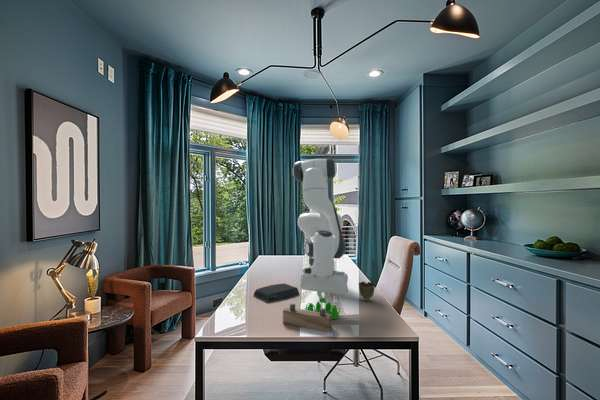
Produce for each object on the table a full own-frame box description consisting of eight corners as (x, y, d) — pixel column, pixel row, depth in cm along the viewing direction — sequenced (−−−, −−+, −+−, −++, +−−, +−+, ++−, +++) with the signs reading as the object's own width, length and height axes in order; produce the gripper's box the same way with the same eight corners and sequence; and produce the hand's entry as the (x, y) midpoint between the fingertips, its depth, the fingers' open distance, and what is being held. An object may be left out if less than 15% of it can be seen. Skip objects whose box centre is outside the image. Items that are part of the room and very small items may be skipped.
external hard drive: (252, 296, 150) (252, 288, 150) (284, 289, 162) (284, 281, 162) (267, 304, 140) (267, 295, 140) (300, 295, 152) (300, 287, 152)
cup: (375, 298, 147) (375, 281, 147) (374, 303, 140) (374, 286, 140) (359, 297, 149) (359, 280, 149) (357, 302, 142) (357, 284, 142)
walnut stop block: (287, 319, 121) (287, 301, 121) (331, 327, 114) (332, 308, 114) (282, 323, 117) (283, 304, 117) (328, 332, 110) (328, 312, 110)
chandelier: (334, 308, 134) (334, 292, 134) (346, 322, 119) (346, 304, 119) (299, 311, 131) (300, 294, 131) (307, 325, 116) (307, 306, 116)
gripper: (349, 270, 130) (349, 303, 130) (304, 265, 138) (304, 297, 139) (345, 274, 124) (345, 308, 124) (299, 268, 133) (298, 301, 133)
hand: (323, 302), depth 132 cm, fingers closed, pressing on chandelier
